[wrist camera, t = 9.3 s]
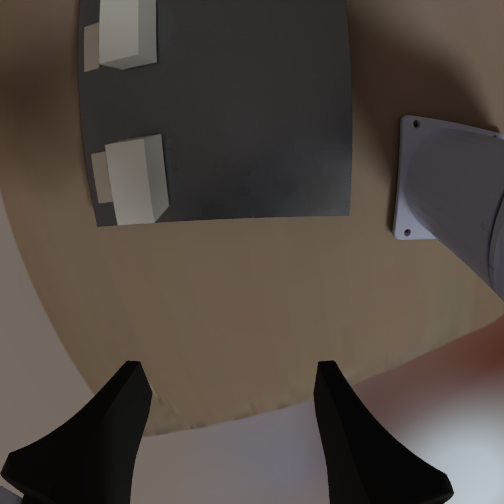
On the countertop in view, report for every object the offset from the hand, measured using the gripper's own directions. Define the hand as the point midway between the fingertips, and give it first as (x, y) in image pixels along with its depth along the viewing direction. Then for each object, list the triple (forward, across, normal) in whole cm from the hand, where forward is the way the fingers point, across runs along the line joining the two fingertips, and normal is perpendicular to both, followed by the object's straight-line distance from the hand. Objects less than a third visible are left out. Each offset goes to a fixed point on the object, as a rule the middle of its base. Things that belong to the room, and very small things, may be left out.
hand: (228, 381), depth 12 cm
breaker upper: (+8, +4, -7) cm, 11 cm away
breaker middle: (+8, +5, -15) cm, 17 cm away
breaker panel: (+9, +1, -15) cm, 18 cm away
